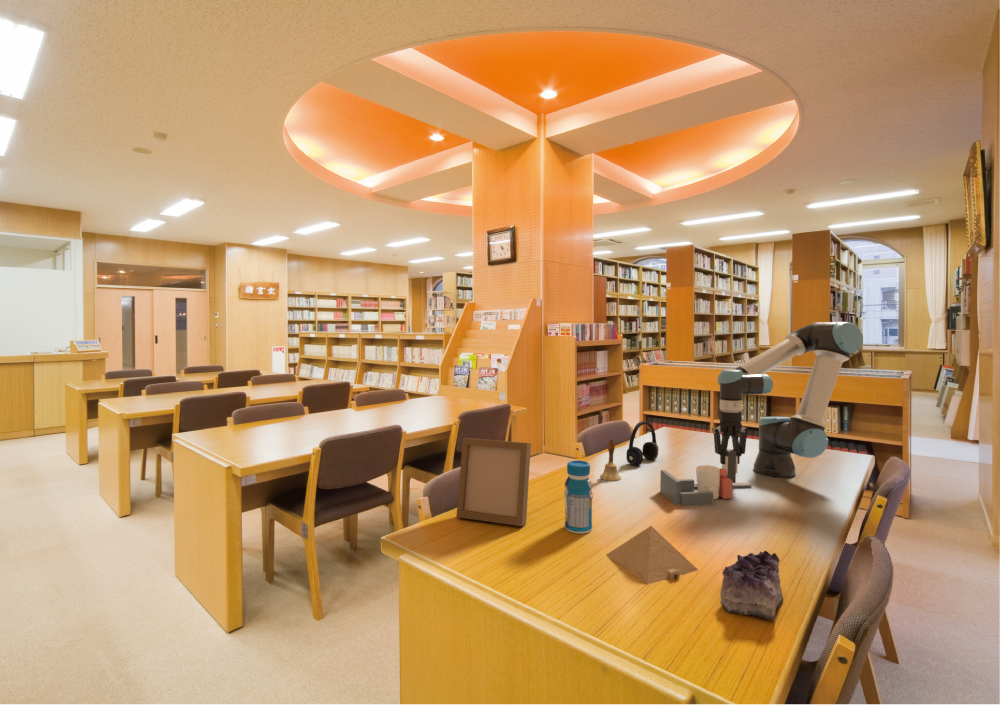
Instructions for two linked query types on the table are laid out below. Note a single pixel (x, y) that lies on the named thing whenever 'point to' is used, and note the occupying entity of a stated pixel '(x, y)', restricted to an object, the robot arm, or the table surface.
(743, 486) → the rail
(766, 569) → the geode
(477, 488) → the photo frame
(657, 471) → the table surface
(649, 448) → the headphones
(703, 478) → the white cup
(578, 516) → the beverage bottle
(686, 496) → the frame
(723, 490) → the striker slider
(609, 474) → the hand bell
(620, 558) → the model pyramid
